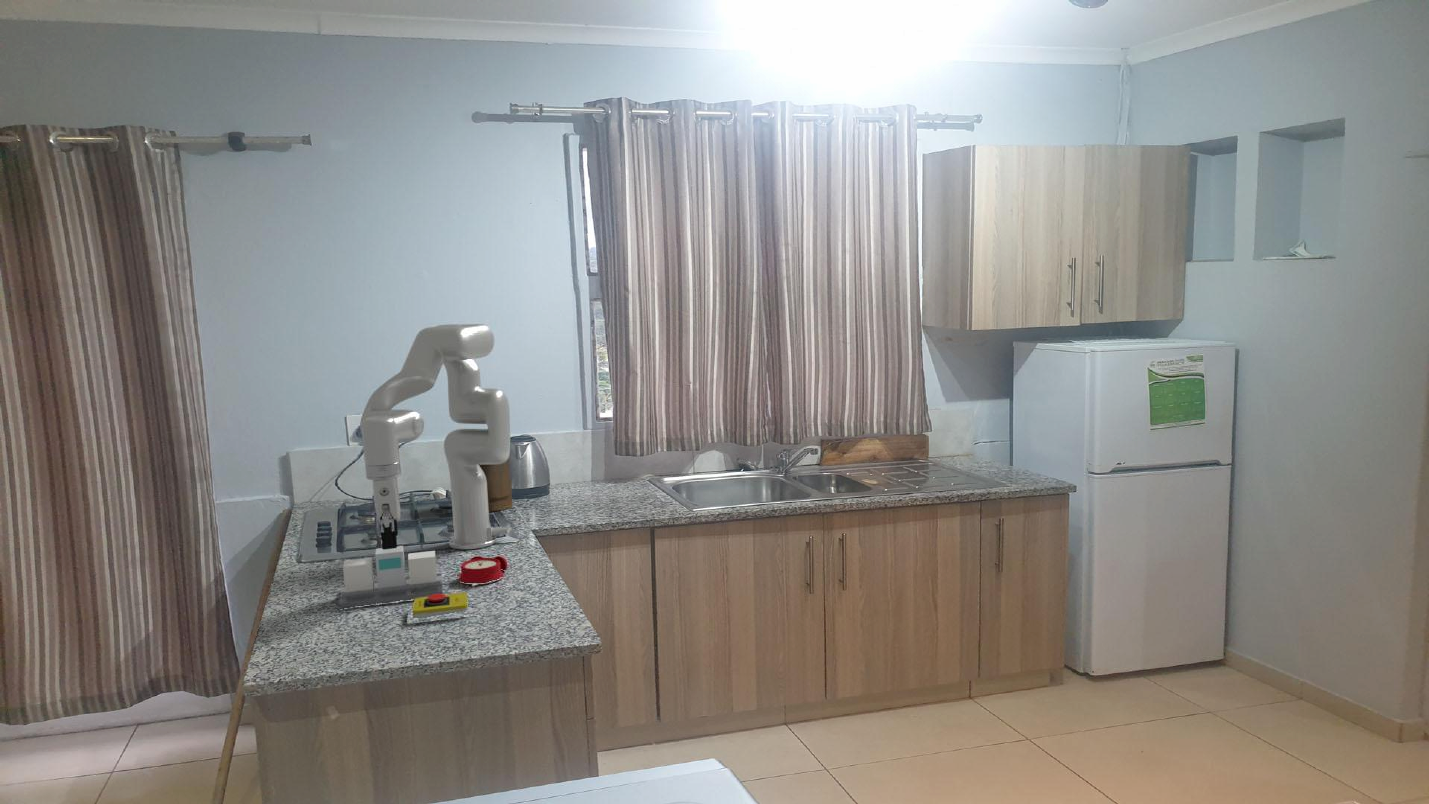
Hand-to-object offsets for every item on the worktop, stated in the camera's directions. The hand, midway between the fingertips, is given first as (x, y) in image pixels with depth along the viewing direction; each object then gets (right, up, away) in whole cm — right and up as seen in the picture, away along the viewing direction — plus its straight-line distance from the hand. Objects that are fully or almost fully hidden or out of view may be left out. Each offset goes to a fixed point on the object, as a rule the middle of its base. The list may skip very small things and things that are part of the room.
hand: (390, 542), depth 223 cm
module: (0, -10, +1) cm, 10 cm away
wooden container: (+4, -1, +82) cm, 82 cm away
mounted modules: (0, -10, +1) cm, 10 cm away
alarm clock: (+19, -11, +12) cm, 25 cm away
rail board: (0, -12, +1) cm, 12 cm away
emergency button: (+16, -14, -12) cm, 25 cm away
